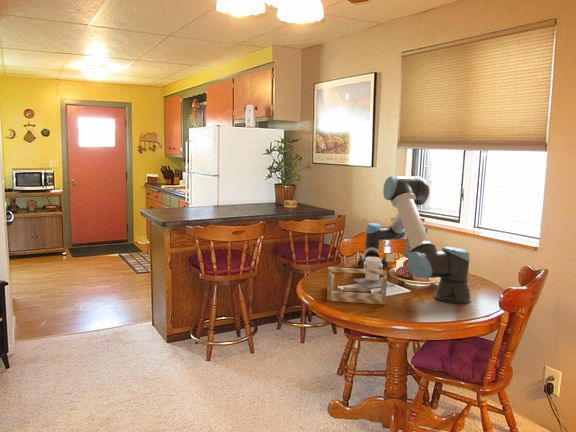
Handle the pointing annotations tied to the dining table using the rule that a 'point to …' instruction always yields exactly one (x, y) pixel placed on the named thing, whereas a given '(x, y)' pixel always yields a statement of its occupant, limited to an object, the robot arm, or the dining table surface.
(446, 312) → the dining table surface
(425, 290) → the dining table surface
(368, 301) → the frame
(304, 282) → the dining table surface
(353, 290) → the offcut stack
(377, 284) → the rubber mat
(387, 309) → the dining table surface
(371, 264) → the white cup
